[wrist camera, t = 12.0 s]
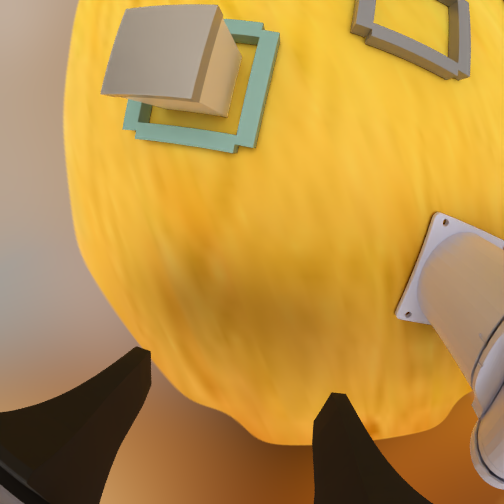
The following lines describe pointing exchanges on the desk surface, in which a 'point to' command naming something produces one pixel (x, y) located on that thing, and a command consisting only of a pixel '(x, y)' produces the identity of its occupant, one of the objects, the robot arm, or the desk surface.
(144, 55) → the plug
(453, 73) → the socket
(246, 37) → the socket
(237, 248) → the desk surface
